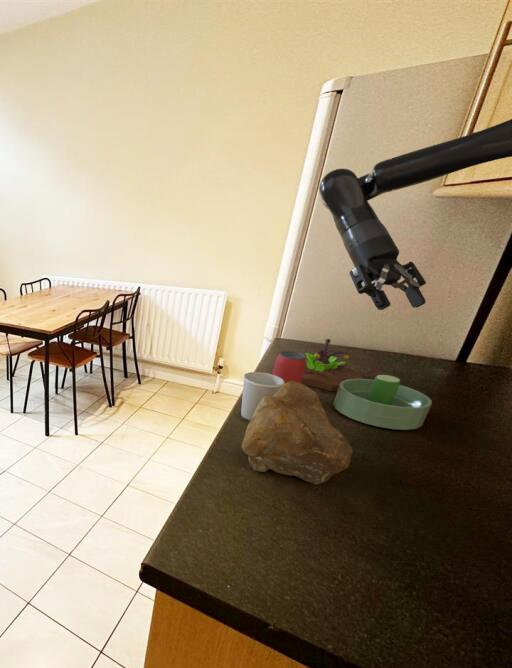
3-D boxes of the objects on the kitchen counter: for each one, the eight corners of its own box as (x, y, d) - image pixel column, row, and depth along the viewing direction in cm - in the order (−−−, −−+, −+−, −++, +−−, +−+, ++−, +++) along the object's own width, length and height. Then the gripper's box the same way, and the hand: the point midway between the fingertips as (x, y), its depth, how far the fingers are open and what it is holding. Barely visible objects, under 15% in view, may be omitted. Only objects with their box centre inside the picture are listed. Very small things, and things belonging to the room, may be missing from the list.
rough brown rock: (321, 518, 69) (360, 444, 63) (220, 470, 80) (244, 402, 73) (348, 464, 84) (382, 400, 77) (260, 429, 95) (283, 370, 88)
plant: (363, 374, 120) (376, 338, 116) (359, 398, 107) (373, 357, 103) (283, 360, 133) (292, 326, 128) (270, 379, 120) (280, 342, 115)
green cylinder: (374, 407, 101) (387, 373, 98) (392, 415, 97) (406, 380, 94) (358, 409, 101) (370, 375, 97) (376, 417, 97) (389, 382, 93)
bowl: (372, 397, 107) (379, 376, 105) (441, 428, 93) (452, 404, 90) (316, 403, 105) (323, 381, 103) (378, 435, 91) (388, 411, 88)
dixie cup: (282, 423, 97) (293, 384, 92) (248, 425, 96) (257, 386, 92) (259, 407, 104) (268, 370, 100) (227, 409, 104) (235, 372, 100)
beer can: (265, 390, 113) (276, 349, 108) (294, 394, 110) (306, 352, 106) (267, 400, 108) (278, 357, 103) (297, 404, 105) (310, 360, 100)
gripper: (355, 235, 89) (390, 299, 83) (412, 232, 91) (450, 294, 85) (327, 257, 96) (357, 318, 90) (380, 254, 98) (413, 313, 92)
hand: (402, 306), depth 87 cm, fingers open, 8 cm apart
